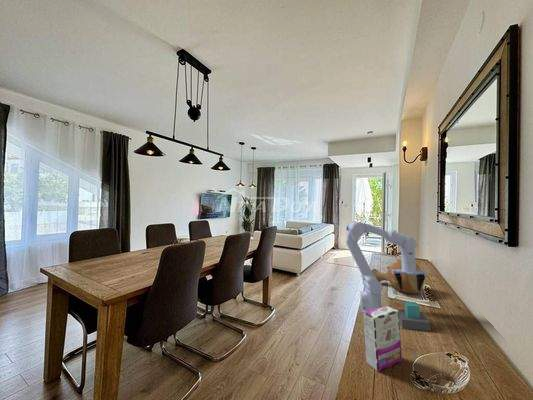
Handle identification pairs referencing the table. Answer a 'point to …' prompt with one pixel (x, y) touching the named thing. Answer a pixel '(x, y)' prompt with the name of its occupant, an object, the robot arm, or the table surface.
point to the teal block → (412, 310)
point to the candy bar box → (382, 337)
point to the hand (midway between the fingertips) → (409, 289)
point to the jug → (407, 280)
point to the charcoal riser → (413, 322)
